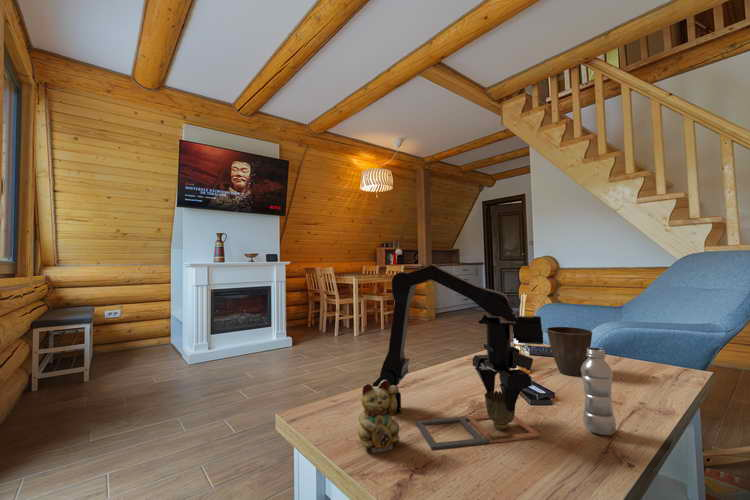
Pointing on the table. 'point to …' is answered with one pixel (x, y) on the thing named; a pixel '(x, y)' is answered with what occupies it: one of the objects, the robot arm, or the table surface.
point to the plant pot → (569, 348)
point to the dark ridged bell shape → (498, 410)
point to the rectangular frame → (473, 432)
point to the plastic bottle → (598, 393)
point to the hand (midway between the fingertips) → (500, 403)
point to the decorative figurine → (378, 417)
